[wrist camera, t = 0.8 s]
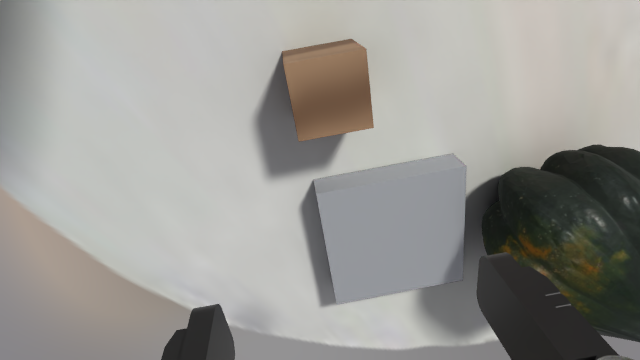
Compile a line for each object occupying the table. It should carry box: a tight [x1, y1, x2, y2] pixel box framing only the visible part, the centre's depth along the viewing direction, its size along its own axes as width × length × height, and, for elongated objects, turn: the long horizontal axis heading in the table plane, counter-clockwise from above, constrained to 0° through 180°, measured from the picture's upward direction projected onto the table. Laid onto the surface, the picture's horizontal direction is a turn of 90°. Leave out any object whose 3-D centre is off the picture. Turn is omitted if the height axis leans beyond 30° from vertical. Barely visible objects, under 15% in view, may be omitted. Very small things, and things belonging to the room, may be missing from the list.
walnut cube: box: [282, 39, 374, 142], centre depth 26 cm, size 5×5×5 cm
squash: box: [482, 145, 640, 342], centre depth 30 cm, size 14×15×15 cm
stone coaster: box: [314, 154, 466, 304], centre depth 33 cm, size 12×12×2 cm
